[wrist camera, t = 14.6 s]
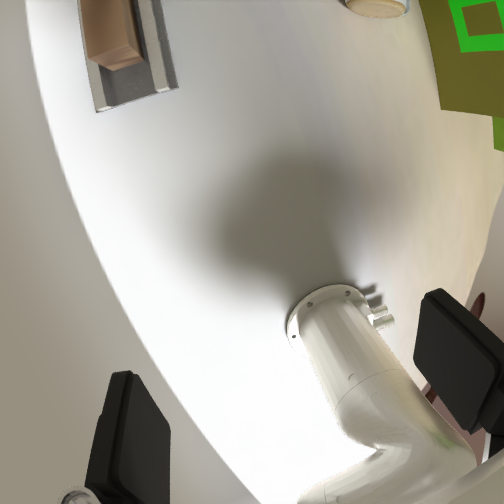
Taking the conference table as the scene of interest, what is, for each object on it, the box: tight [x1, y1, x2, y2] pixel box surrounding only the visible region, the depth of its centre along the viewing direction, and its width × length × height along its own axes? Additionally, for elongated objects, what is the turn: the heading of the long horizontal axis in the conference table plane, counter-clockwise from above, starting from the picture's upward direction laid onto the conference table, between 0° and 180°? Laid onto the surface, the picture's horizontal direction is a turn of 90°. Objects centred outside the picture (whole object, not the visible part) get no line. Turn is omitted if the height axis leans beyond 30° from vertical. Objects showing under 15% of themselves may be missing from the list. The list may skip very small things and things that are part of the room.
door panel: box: [80, 0, 145, 71], centre depth 20 cm, size 4×12×8 cm, turn 11°
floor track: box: [77, 0, 178, 113], centre depth 23 cm, size 9×20×4 cm, turn 11°
